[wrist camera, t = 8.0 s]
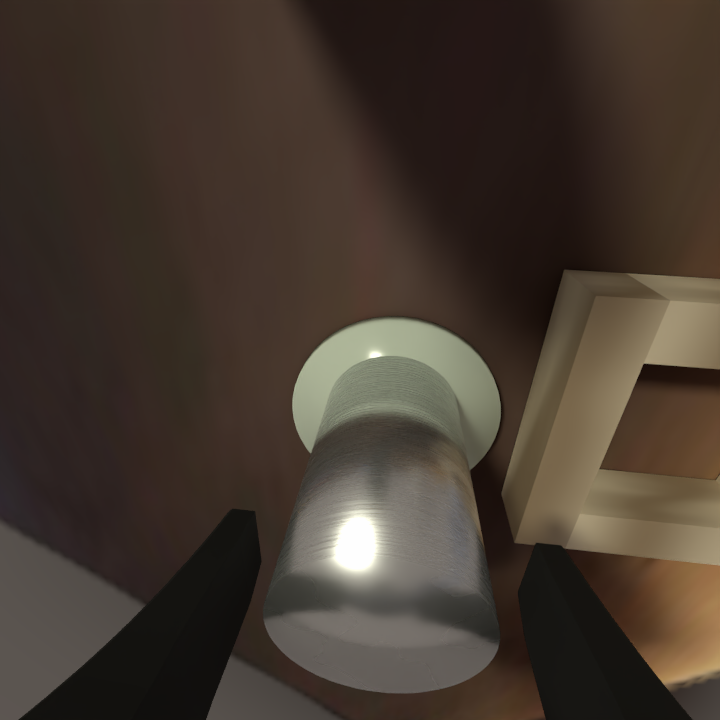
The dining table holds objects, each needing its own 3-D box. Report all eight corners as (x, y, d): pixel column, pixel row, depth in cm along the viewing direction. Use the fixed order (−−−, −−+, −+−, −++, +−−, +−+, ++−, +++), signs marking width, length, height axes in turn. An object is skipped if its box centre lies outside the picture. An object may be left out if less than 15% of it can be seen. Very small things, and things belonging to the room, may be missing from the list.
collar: (904, 290, 12) (1010, 323, 10) (743, 517, 17) (792, 573, 15) (564, 269, 13) (595, 295, 11) (501, 493, 18) (514, 542, 16)
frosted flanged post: (468, 362, 14) (526, 574, 7) (447, 469, 17) (475, 706, 10) (328, 349, 15) (254, 540, 8) (327, 455, 17) (269, 676, 10)
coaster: (518, 324, 14) (522, 331, 14) (477, 491, 18) (480, 501, 17) (291, 308, 15) (287, 314, 14) (299, 473, 18) (296, 482, 18)
